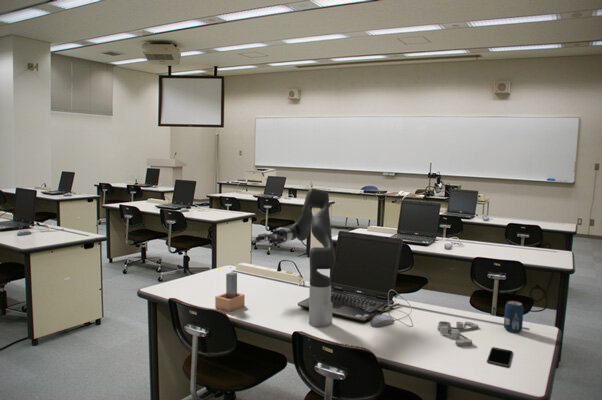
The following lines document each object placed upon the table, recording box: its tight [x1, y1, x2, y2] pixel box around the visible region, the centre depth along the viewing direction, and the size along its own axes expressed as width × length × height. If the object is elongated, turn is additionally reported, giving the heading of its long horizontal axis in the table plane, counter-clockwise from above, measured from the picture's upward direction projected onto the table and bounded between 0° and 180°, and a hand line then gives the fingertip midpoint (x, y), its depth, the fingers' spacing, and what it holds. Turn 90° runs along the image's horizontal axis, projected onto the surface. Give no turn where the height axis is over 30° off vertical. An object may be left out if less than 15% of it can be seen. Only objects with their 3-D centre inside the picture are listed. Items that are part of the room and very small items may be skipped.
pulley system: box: [437, 321, 479, 347], centre depth 179 cm, size 27×5×15 cm
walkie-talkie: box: [383, 303, 401, 312], centre depth 206 cm, size 9×4×20 cm
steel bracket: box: [225, 271, 238, 299], centre depth 204 cm, size 4×6×15 cm
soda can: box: [503, 300, 524, 334], centre depth 181 cm, size 7×7×12 cm
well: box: [214, 292, 246, 313], centre depth 204 cm, size 9×10×6 cm
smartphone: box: [486, 346, 513, 369], centre depth 157 cm, size 7×15×1 cm, turn 149°
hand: (262, 240), depth 214 cm, fingers open, 8 cm apart
